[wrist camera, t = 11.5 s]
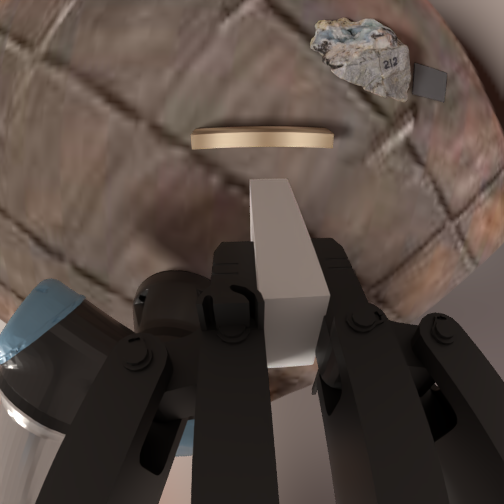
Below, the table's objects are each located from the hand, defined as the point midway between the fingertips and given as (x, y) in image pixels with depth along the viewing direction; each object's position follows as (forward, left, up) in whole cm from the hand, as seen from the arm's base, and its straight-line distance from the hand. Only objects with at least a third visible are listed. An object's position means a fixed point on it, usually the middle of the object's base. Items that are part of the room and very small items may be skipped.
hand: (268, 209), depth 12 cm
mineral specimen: (+11, +8, -21) cm, 25 cm away
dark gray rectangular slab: (+21, +7, -20) cm, 30 cm away
